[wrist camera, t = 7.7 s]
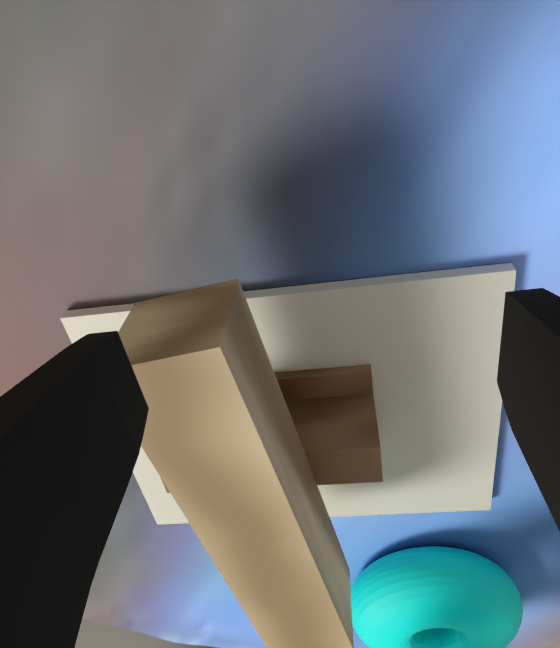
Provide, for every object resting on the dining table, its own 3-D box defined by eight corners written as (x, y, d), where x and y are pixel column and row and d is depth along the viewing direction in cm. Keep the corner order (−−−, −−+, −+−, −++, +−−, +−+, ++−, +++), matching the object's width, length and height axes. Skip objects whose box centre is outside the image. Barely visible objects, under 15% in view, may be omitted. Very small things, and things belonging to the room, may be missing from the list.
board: (511, 262, 19) (516, 270, 19) (487, 500, 27) (490, 509, 26) (66, 310, 22) (60, 318, 21) (160, 515, 29) (157, 524, 29)
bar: (238, 278, 15) (219, 347, 13) (349, 569, 24) (353, 650, 21) (135, 302, 16) (95, 372, 13) (277, 576, 25) (272, 656, 22)
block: (370, 364, 21) (378, 424, 19) (376, 437, 24) (384, 501, 21) (166, 381, 23) (144, 440, 20) (191, 449, 25) (174, 510, 22)
